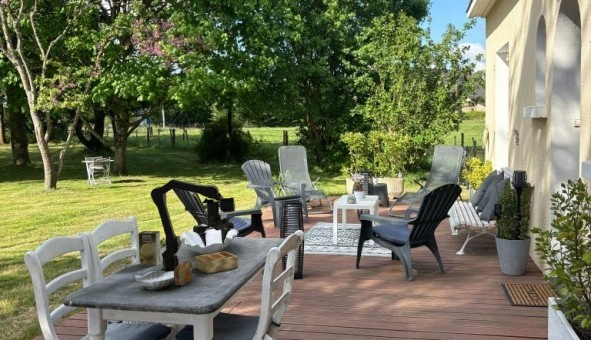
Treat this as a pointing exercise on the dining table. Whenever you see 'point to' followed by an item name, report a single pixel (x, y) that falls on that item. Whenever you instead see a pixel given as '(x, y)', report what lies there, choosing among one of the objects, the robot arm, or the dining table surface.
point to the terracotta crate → (215, 257)
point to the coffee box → (149, 248)
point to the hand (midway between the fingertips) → (214, 245)
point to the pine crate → (216, 263)
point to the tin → (183, 273)
